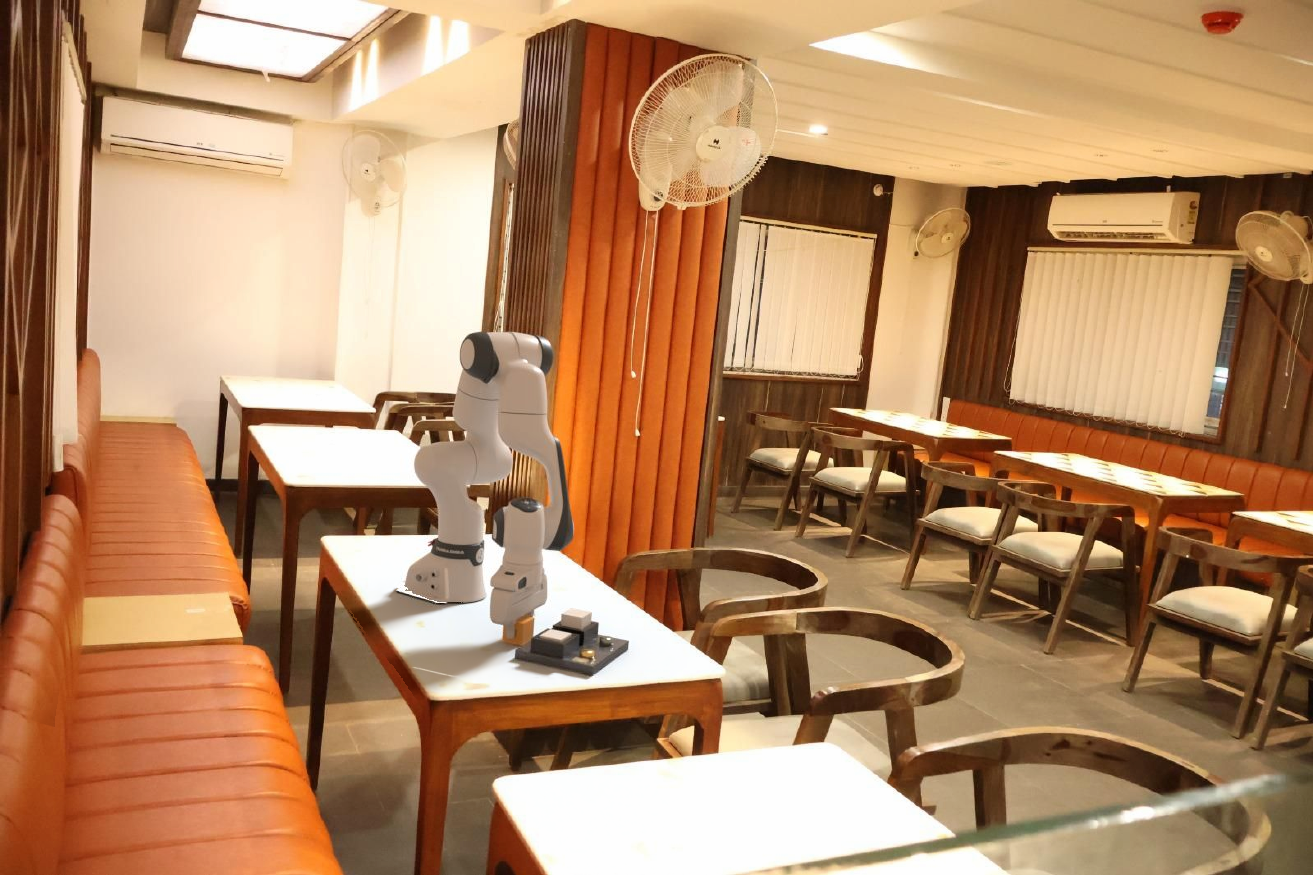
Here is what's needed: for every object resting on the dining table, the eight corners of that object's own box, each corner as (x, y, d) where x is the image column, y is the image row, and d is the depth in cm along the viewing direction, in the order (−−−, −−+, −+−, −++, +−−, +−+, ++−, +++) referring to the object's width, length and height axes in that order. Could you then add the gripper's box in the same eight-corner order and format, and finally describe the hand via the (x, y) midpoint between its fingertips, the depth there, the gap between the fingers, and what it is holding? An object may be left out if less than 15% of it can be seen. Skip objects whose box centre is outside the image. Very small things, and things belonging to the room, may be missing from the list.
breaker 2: (560, 627, 233) (561, 613, 232) (570, 621, 237) (571, 608, 237) (581, 631, 231) (582, 617, 231) (590, 625, 236) (591, 612, 235)
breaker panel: (514, 658, 224) (516, 636, 223) (555, 634, 242) (556, 613, 241) (592, 675, 218) (594, 652, 217) (628, 649, 235) (629, 627, 235)
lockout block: (502, 641, 234) (503, 619, 233) (513, 635, 239) (514, 613, 238) (522, 645, 232) (523, 623, 232) (533, 639, 237) (534, 618, 236)
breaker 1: (538, 649, 224) (539, 635, 223) (549, 642, 228) (550, 629, 228) (560, 653, 222) (561, 639, 222) (570, 647, 227) (571, 633, 226)
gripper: (531, 560, 244) (527, 618, 246) (486, 580, 225) (482, 643, 227) (556, 565, 242) (552, 623, 244) (512, 585, 223) (508, 649, 225)
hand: (518, 633), depth 235 cm, fingers closed on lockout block, 5 cm apart
